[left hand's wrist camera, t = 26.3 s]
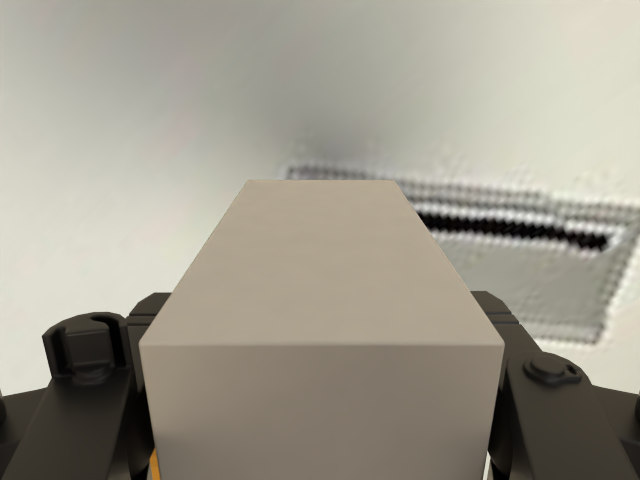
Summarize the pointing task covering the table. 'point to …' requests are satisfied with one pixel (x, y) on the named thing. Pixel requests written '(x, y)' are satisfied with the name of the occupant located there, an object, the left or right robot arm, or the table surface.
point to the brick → (321, 345)
